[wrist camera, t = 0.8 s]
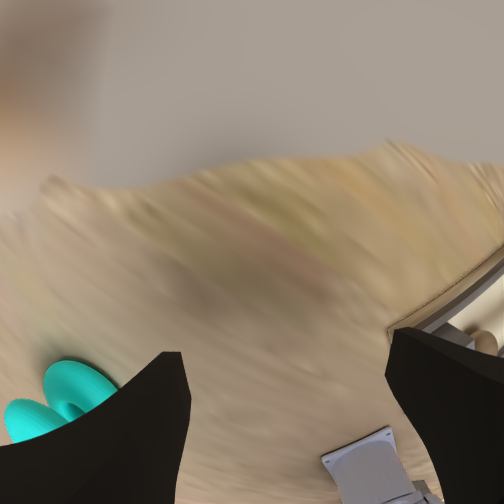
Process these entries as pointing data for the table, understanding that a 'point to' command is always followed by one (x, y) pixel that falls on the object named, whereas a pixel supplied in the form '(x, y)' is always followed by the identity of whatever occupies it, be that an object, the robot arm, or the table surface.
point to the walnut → (485, 342)
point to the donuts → (58, 400)
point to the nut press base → (466, 307)
